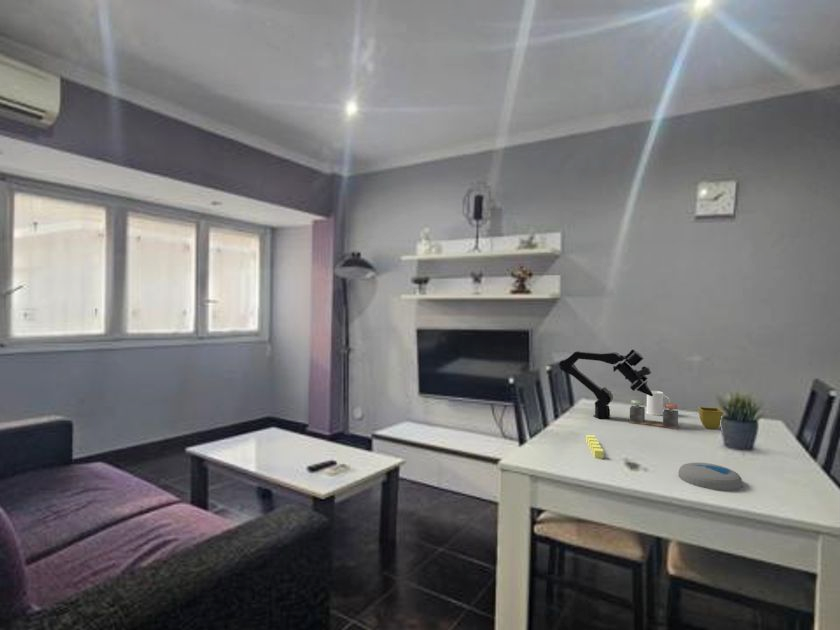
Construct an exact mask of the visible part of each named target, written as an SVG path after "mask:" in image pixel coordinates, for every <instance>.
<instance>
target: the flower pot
mask: <svg viewBox="0 0 840 630" xmlns="http://www.w3.org/2000/svg"><path fill="white" fill-rule="evenodd" d="M722 415H724V411H723V410H721V409H720V408H719V407H704V406H698V416H699V420H700V423H701V424H702V426H704V428H705V429H717V430H718V429H719V427H720V426H721V425H720V420H721V416H722Z"/></svg>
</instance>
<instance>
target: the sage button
mask: <svg viewBox="0 0 840 630" xmlns="http://www.w3.org/2000/svg"><path fill="white" fill-rule="evenodd" d="M630 402H631V404H632V405H633V406H636V408H639V407H640V406H643V405H644V404H645V402H644V400H642V399H631V401H630Z"/></svg>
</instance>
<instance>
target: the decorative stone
mask: <svg viewBox="0 0 840 630" xmlns="http://www.w3.org/2000/svg"><path fill="white" fill-rule="evenodd" d="M678 477H679V479H680V480H681V481H683V482H685V483H686V484H689V485H691V486H695V487H698V488H702V489H708V490H713V491H721V492H732V491H739V490H741V489H742V488H743V479H742V477H741V475H740V474H739V473H738V472H736V471H734V470H732V469H731V468H728V467H726V466H722V465H719V464H715V463H714V464H713V463H709V462H708V463H707V462H688V463H684V464H682V465H681V466H680V467H679V469H678Z"/></svg>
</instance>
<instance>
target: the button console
mask: <svg viewBox="0 0 840 630" xmlns="http://www.w3.org/2000/svg"><path fill="white" fill-rule="evenodd" d="M645 409H646V408H645V406H639V408H636V405H631V406H630V407H629V421H628V424H632V425H641V426H647V427H648V426H649V427H657V428H663V429H671V430H678V428H679V427H678V426H679V410H675V409H673V412H669V409H664V410H663V415H662V421H660V420H659V421H658V420H651V419H646V417H645V414H646V410H645Z"/></svg>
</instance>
